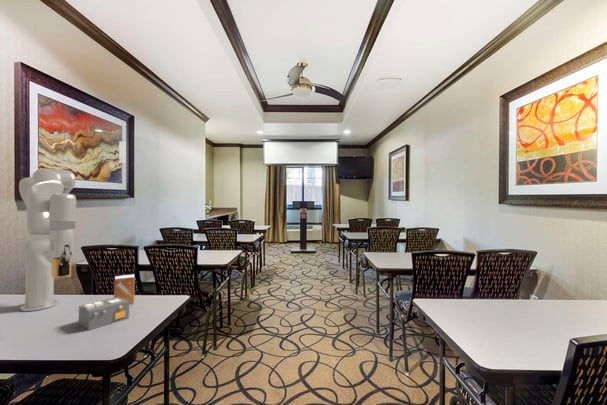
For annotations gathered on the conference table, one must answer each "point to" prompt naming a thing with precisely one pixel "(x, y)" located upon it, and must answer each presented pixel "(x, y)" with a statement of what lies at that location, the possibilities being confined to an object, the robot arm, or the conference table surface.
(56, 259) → the cap
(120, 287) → the small box
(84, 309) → the box
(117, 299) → the tagged breaker
